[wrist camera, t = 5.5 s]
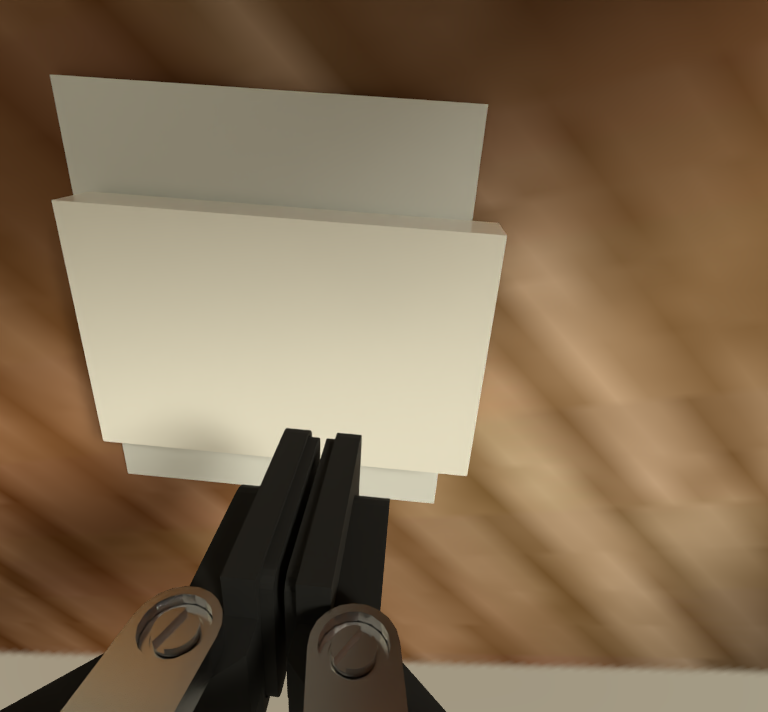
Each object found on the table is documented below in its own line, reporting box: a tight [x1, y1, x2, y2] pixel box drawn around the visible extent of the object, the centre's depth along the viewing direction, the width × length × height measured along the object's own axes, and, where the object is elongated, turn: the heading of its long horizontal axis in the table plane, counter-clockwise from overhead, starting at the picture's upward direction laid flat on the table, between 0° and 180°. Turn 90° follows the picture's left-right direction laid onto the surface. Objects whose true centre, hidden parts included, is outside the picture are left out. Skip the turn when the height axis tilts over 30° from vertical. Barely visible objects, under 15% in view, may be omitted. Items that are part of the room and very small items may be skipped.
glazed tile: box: [51, 191, 507, 476], centre depth 18 cm, size 2×9×14 cm
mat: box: [50, 74, 488, 503], centre depth 20 cm, size 14×16×1 cm
